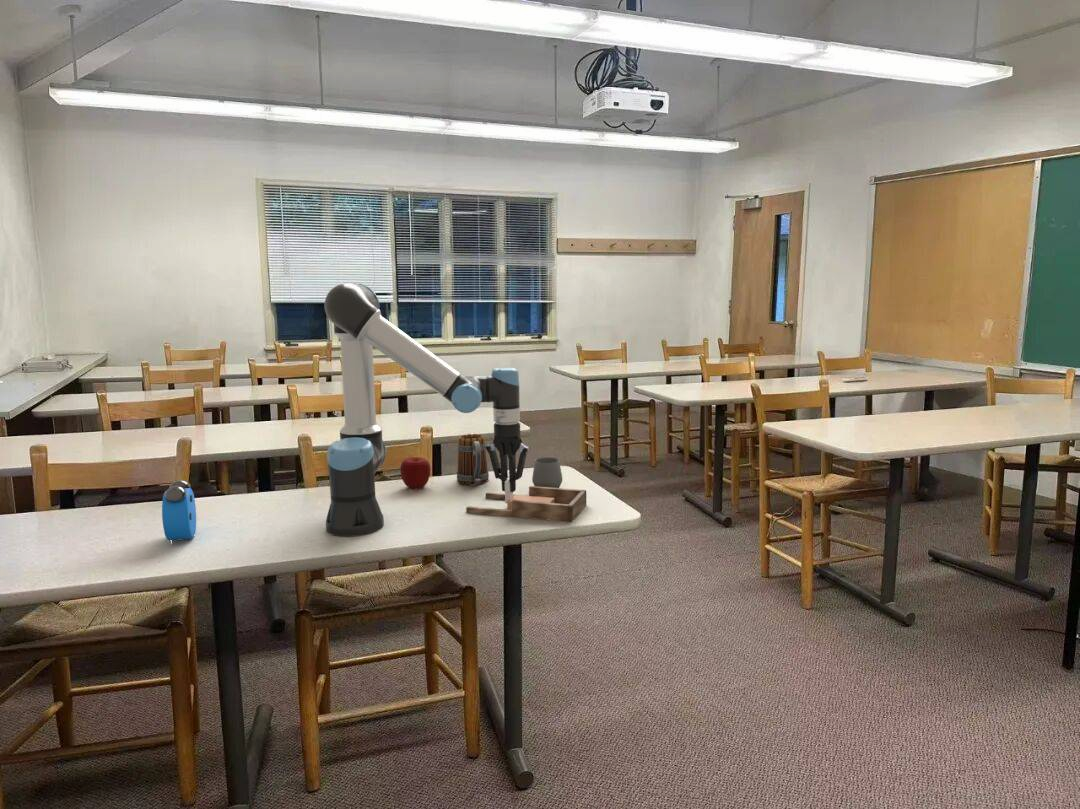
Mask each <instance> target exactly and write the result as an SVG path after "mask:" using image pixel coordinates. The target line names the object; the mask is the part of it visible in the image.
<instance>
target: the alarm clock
mask: <svg viewBox="0 0 1080 809" xmlns="http://www.w3.org/2000/svg"><path fill="white" fill-rule="evenodd" d="M161 505H162V506H161V516H162V518H161V519H162V520H161V521H162V528H163V532H164V536H165V538H166V540H167V541H168V540H169V541H168V542H171V541H170V540H176V541H181V540H180V539H184V540H190V539H189V538H192V539H194V538H195V536H194V534H195V535H196V533H195V532H197V507H196V499H195V495H194V492H193V490H192V488H191V484H190V482H188V481H186V480H184V479H178V480H175V481H173V482H171V484H170V485H169V488H168V489H167V490H165V492H164V493H163V497H162V503H161ZM193 537H194V538H193Z"/></svg>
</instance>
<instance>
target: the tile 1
mask: <svg viewBox="0 0 1080 809" xmlns="http://www.w3.org/2000/svg"><path fill="white" fill-rule="evenodd" d="M519 495H520V494H516V495H514V496H513V497H512V498H511V499H509V500H508V501H507V503H506V504H507V505H506V506H507V508H506V510H512V501H513V500H521V501H530V500H531V499H532V498H533V497H532V496H529V495H528V496H519Z"/></svg>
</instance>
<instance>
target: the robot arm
mask: <svg viewBox="0 0 1080 809" xmlns="http://www.w3.org/2000/svg"><path fill="white" fill-rule="evenodd" d="M324 312H325V314H326V316H327V317H328V319H329V321H330V322H331V323H332V324H333V329H334V330H333V331H334V332H333V334H334V335H335V336H337V338H338V339H339V341H340V356H341V357H340V358H341V374H342V377H341V378H342V388H343V389H342V393H343V396H342V397H343V409H344V410H343V411H344V412H343V413H344V414H343V415H344V425H343V426H342V427H341V428H340V430H339V440H336V441H334V442H332V443H330V445H329V447H328V448H327V456H326V461H327V468H328V477H329V478H328V480H329V491H330V492H329V493H330V504H329V508H328V510H327V516H326V520H325V530H326V532H327V533H328V534H329V533H330V535H332V534H333V535H332V536H336V535H337V536H338V537H356V536H357V537H359V536H364V535H367V534H372V533H375V532H377V531H378V530H380V529H382V528H383V527H384V524H385V521H384V514H383V512H382V510H381V507H380V505H379V502H378V500H377V496H376V479H375V474H376V472H377V471H378V470H379V469H380V468H381V467H382V466H383V463H384V462H385V459H386V454H387V449H386V444H385V442H384V439H383V428H382V427H381V426H380V425H379V424H378V423H377V413H376V392H375V391H376V390H375V389H376V388H375V370H374V369H375V368H374V348H375V349H376V350H378V351H380V353H382V354H383V355H385V356H386V357H388V358H389V359H390V360H391V361H394V362H395V363H396V364H397V365H398V366H401V367H402V368H403V369H405V370H406V371H407V372H409V373H410V374H411V375H413V376H414V377H416V378H417V379H419V380H420V381H422V382H423V383H424V384H425V385H426V386H429V387H430V388H431V389H433V390H434V391H435V392H437V393H438V394H439V395H441V396H442V397H444V398H445V399H446V400H447V401H448V402H450V403H452V406H453V407H454V409H455V410H457V411H458V412H460V413H463V414H471V413H472V412H475V411H476V410H477V409H478V408H479V407H480V405H481V403H492V410H493V412H492V414H493V422H494V424H493V436H494V437H493V439H492V443H491V444H487V445H486V449H485V450H486V452H487V453H488V455H489V459H490V462H491V466H492V470H493V474H494V478H495V479H498V480H500V481H501V491H502V492H504V494H505V500H504V504H507V501H508V500H509V499H511V498H512V497H513V494H514V492H515V491H516V488H517V483H516V482H517V481H518V480H520V479H521V478H522V476H523V472H524V469H525V463H526V459H527V454H528V452H529V451H530V446H528V445H526V444H523V441H522V437H521V423H520V420H521V411H520V410H521V409H520V406H521V405H520V380H519V379H520V378H519V376H520V375H519V371H518V370H517V368H515V367H496V368H493V369H492V371H491V374H490V375H479V376H478V375H473V376H471V375H467V376H466V375H463V374H462V373H460V372H458V371H457V370H456V369H454V368H453V367H452V366H450V365H449V364H448V363H446V362H445V361H443V360H442V359H441V358H439V357H438V356H437V355H435V353H433V352H432V351H430V350H429V349H427V348H426V347H424V346H423V345H421V344H420V343H419V342H417V341H416V340H415V339H413V338H412V337H411V336H409V335H408V334H407V333H405V332H404V331H403V330H401V329H400V328H398V327H397V326H396V325H394V324H393V323H391V322H390V321H388V320H387V319H386V318H385V317H383V316H382V313H381V310H380V300H379V298H378V295H377V294H376V293H375V291H374V290H372V289H371V288H370V287H369V286H366V285H365V284H362V283H356V282H354V283H340V284H339V285H335V286H333V287H332V288H331V289H330V290H329V291H328V293H327V294H326V296H325V300H324ZM373 347H374V348H373ZM497 451H498V454H499V458H498V454H497ZM518 451H519V452H520V454H519V456H518V457H519V458H518V461H516V457H517V452H518ZM499 459H500V461H499ZM516 462H517V463H516ZM516 480H517V481H516Z"/></svg>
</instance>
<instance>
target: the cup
mask: <svg viewBox="0 0 1080 809" xmlns="http://www.w3.org/2000/svg"><path fill="white" fill-rule="evenodd" d="M560 462H561V461H560V459H559V458H556V457H552V456H551V457H550V456H548V457H538V458H536V459H534V464H533V471H532V479H531V480H532V484H533V485H534V486H538V487H551V488H561V485H562V483H563V473H562V469H561V463H560Z"/></svg>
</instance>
